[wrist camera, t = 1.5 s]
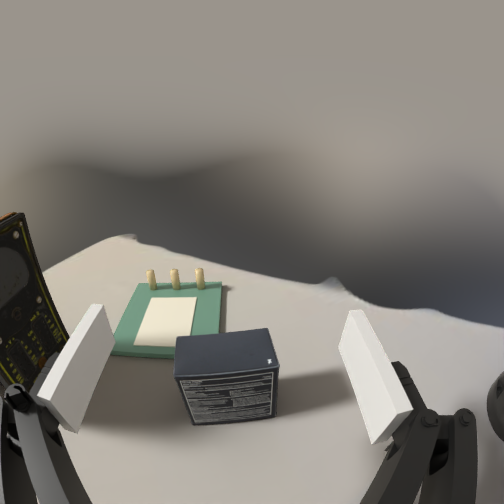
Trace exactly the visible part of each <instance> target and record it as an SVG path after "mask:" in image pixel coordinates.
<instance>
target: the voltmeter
mask: <svg viewBox="0 0 504 504" xmlns="http://www.w3.org/2000/svg"><path fill="white" fill-rule="evenodd" d="M10 215H12V216H10ZM69 338H70V337H69V335H68V333H67V331H66V329H65V327H64V325H63V323H62V320H61V318H60V316H59V314H58V312H57V309H56V307H55V305H54V302H53V300H52V298H51V295H50V293H49V290H48V288H47V285H46V283H45V280H44V277H43V274H42V272H41V269H40V266H39V263H38V260H37V257H36V254H35V250H34V247H33V244H32V240H31V237H30V233H29V230H28V226H27V222H26V218H25V215H24V213H16V212H13V213H8V214H6V215H4V216H2V217H0V382H1V383H2V385H3V386H4V387H5V388H6V389H7V388H8V387H9V386H10V385H12V384H16V383H18V384H21V385H22V386H24V388H25V389H26V390H27V392H28V393H29V392H30V390H31V388H32V386H33V385H34V383H35V381H36V379H37V377H38V376H39V374H40V373H41V370H42V369H43V367H44V365H45V364H46V362H47V360H48V359H49V358H50V357H51V356H52V355H53V354H54V353H55V352H57V353H61V351H62V350H63V348H64V346H65V345H66V343H67V341H68V340H69Z"/></svg>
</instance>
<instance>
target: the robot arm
mask: <svg viewBox="0 0 504 504" xmlns="http://www.w3.org/2000/svg"><path fill="white" fill-rule="evenodd" d="M115 342H116V341H115V339H114V336H113V333H112V330H111V327H110V324H109V321H108V318H107V315H106V312H105V308H104V305H100V304H92V305H91V306H90V308H89V309H88V310H87V312H86V313H85V315H84V316H83V318H82V319H81V321H80V323H79V324H78V326H77V327H76V329H75V330H74V332H73V333H72V335H71V337H70V338H69V340H68V341H67V343H66V345H65V346H64V348H63V350H62V351H61V353H57V352H55V353H54V354H53V355H52V356H51V357H50V358H49V359H48V360H47V362H46V364H45V365H44V367H43V369H42V370H41V373H40V374H39V376H38V377H37V379H36V381H35V383H34V385H33V386H32V388H31V390H30V392H29V393H28V392H27V390H26V389H25V388H24V386H22V385H21V384H18V383H16V384H12V385H10V386H9V387H8V388H7V389H6V391H5V393H4V399H5V400H6V401H4V400H3V398H2V397H1V396H0V504H38V503H37V498H38V500H39V503H40V504H92V502H91V500H90V499H89V497H88V495H87V493H86V491H85V489H84V487H83V485H82V483H81V481H80V479H79V477H78V475H77V473H76V470H75V468H74V466H73V464H72V461H71V459H70V456H69V454H68V451H67V449H66V446H65V444H64V441H63V438H62V436H61V433H60V431H59V429H58V426H59V423H60V424H61V425H62V427H63V428H64V429H65V430H68V431H71V432H74V433H77V434H78V431H79V428H80V426H81V423H82V420H83V418H84V415H85V412H86V410H87V407H88V405H89V402H90V400H91V397H92V395H93V392H94V390H95V387H96V385H97V383H98V380H99V378H100V375H101V373H102V371H103V369H104V366H105V364H106V362H107V360H108V357H109V355H110V353H111V351H112V349H113V347H114V344H115ZM338 348H339V351H340V353H341V356H342V359H343V362H344V364H345V367H346V370H347V373H348V375H349V378H350V381H351V384H352V387H353V389H354V392H355V395H356V398H357V401H358V404H359V407H360V410H361V413H362V416H363V419H364V422H365V425H366V428H367V431H368V434H369V437H370V440H371V444H372V445H373V444H377V443H380V442H384V441H387V440H388V439H389V438H390V436H391V435H392V437H393V440H394V441H393V442H392V443H391V444H390V445H389V446H388V447H387V448H386V450H385V451H387V450H388V452H387V454H386V457H385V459H384V461H383V463H382V465H381V467H380V469H379V471H378V472H377V474H376V476H375V478H374V480H373V482H372V484H371V485H370V487H369V489H368V491H367V492H366V494H365V496H364V497H363V499H362V501H361V502H360V504H413V502H414V500H415V498H416V495H417V493H418V491H419V488H420V486H421V484H422V488H421V494H420V499H419V504H475V500H476V488H477V465H478V453H477V429H476V419H475V416H474V414H473V413H472V412H471V411H470V410H469V409H465V408H464V409H460V410H458V411H457V412H456V413H455V414H454V415H438V414H437V413H436V412H435V411H433V410H431V409H427V407H426V406H425V404H424V402H423V400H422V398H421V396H420V394H419V392H418V390H417V388H416V386H415V384H414V382H413V380H412V378H410V374H409V372H408V370H407V369H406V367H405V366H403V365H402V364H401V363H400V362H399V361H397V362H390V360H389V358H388V356H387V355H386V353H385V351H384V349H383V347H382V345H381V343H380V341H379V339H378V338H377V336H376V334H375V332H374V330H373V328H372V326H371V325H370V323H369V321H368V319H367V317H366V316H365V314H364V312H363V310H349V314H348V317H347V321H346V324H345V327H344V331H343V334H342V337H341V340H340V344H339V347H338ZM487 411H488V416H489V420H490V422H491V425H492V427H493V429H494V431H495V432H496V434H497V435H498V436H499V437H500V438H501V439H502V440H503V441H504V372H502V373H501V374H500V376H499V377H498V378H497V379H496V381H495V382H494V383H493V385H492V386H491V388H490V390H489V393H488V398H487ZM422 481H423V482H422ZM36 495H37V498H36Z"/></svg>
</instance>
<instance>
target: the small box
mask: <svg viewBox="0 0 504 504" xmlns="http://www.w3.org/2000/svg"><path fill="white" fill-rule="evenodd" d="M279 367H280V365H279V362H278V359H277V356H276V352H275V349H274V346H273V343H272V339H271V336H270V333H269V330H268V328H263V329H254V330H246V331H237V332H228V333H217V334H205V335H191V336H177V338H176V345H175V358H174V372H173V376H174V379H175V381H176V382H177V386H178V388H179V390H180V393H181V396H182V399H183V401H184V404H185V406H186V409H187V411H188V414H189V416H190V419H191V423H192V425H208V424H222V423H233V422H243V421H251V420H259V419H265V418H271V417H275V416H276V414H277V412H276V403H277V389H278V374H279Z"/></svg>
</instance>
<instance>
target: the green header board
mask: <svg viewBox="0 0 504 504" xmlns="http://www.w3.org/2000/svg"><path fill="white" fill-rule="evenodd" d="M146 274H147V279H148V283H139V284H138V286H137V288H136V290H135V292H134V294H133V296H132V298H131V300H130V302H129V304H128V306H127V308H126V310H125V312H124V314H123V316H122V318H121V320H120V322H119V324H118V327H117V329H116V331H115V333H114V335H113V336H114V339H115V341H116V342H115V344H114V347H113V349H112V351H111V353H110V354H111V355H122V356H134V357H149V358H170V359H174V358H175V345H176V338H177V336H191V335H205V334H217V333H219V325H220V309H221V293H222V282H205V281H204V273H203V269H202V268H198V269H196V270H195V275H196V282H193V283H180V280H179V274H178V270H177V269H172V270H170V275H171V281H172V283H156V279H155V274H154V270H147V271H146Z"/></svg>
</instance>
